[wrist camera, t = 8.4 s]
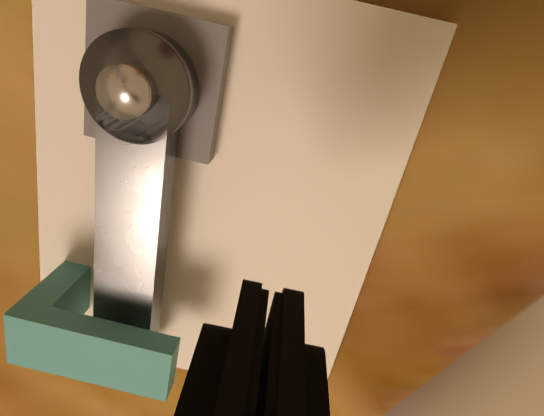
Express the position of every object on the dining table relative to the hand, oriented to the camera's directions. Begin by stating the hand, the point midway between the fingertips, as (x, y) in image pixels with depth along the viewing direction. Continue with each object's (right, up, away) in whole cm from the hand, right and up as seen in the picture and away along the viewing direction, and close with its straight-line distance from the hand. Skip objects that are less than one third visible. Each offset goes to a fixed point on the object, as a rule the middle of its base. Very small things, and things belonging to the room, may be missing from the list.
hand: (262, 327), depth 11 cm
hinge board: (-3, +3, +11) cm, 12 cm away
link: (-6, +3, +9) cm, 11 cm away
